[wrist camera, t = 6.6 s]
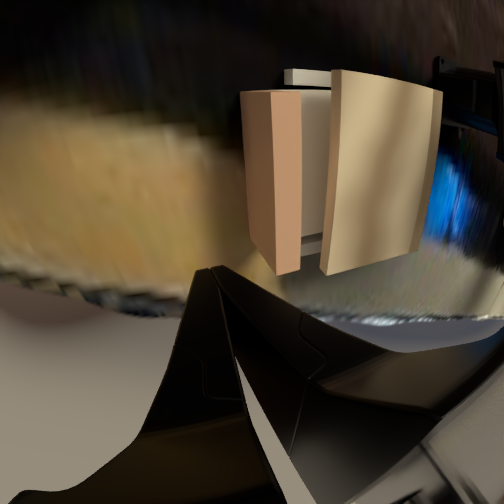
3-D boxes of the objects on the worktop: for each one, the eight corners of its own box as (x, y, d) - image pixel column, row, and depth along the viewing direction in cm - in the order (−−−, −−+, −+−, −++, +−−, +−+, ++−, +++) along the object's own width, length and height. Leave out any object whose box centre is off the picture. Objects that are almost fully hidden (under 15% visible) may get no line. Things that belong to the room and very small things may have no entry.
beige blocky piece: (388, 94, 19) (437, 103, 15) (380, 209, 24) (419, 235, 20) (238, 91, 16) (270, 92, 12) (248, 237, 21) (276, 275, 17)
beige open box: (404, 85, 19) (442, 91, 15) (388, 229, 25) (417, 250, 22) (283, 69, 16) (317, 66, 13) (282, 251, 23) (307, 280, 19)
